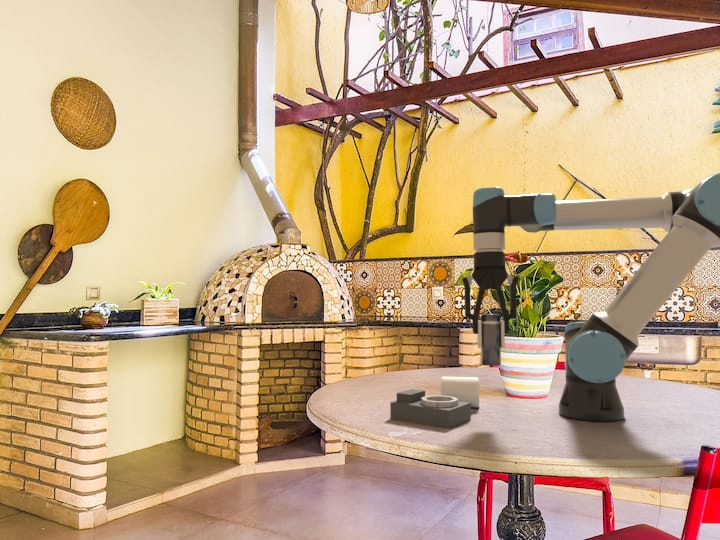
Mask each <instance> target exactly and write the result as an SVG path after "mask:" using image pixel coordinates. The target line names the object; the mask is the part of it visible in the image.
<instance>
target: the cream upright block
mask: <svg viewBox="0 0 720 540" xmlns="http://www.w3.org/2000/svg"><path fill="white" fill-rule="evenodd" d="M440 378H441V379H440V395H441V396H442V395H443V396H451V397H455V398H457V399H458V401H460V402H468V403H471V409H478V408H480V378H479V377H474V376H472V377H470V376H441V377H440Z"/></svg>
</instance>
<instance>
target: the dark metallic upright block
mask: <svg viewBox="0 0 720 540" xmlns="http://www.w3.org/2000/svg"><path fill="white" fill-rule="evenodd" d="M480 320H481V328H482V348H480V352H481V353H480V355H481V356H480V358H481V360H480V361H481V362H480V363H481V366H488V367H491V366H493V367H495V366H496V367H497V366H501V365H502V361H501V360H502V354H501V351H502V348H501V331H500V324H501V321H500V320H501V314H498V313H483V314H480Z"/></svg>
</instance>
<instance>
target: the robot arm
mask: <svg viewBox="0 0 720 540" xmlns="http://www.w3.org/2000/svg"><path fill="white" fill-rule="evenodd" d="M556 198H557V197H556V195H555V194H554V193H553V192H552V193H551V192H549V193H543V192H538V193H529V194H519V195H517V194H515V195H508V194H507V195H505V190H504V189H503V188H501V187H498V186H494V187H493V186H486V187H480V188H478V189H476V190H474V192H473V194H472V226H473V227H472V228H473V235H472V236H473V250H474V251H475V252H474V254H473V272H472V274H471V275H469V276H465V277H463V278H461V282H462V284H463V287H464V316H465V317H466V318H467V319H470V320H472V332H473V334H474V335H476V334H477V348H478V349H481V348H482V328H481V319H480V320H479V317H480V313H481V309H482V303H483V299H484V295H485V291H487V290H494V293H495V294H496V299H497V301H498V305H499V309H500V313H501V314H500V315H501V317H502V320H501V319H500V321H501V324H500V331H501V349H506V343H505V342H506V341H505V340H506V338H505V334H506V335H508V334H509V333H510V321H511V320H512V319H515V318H517V316H518V315H517V285H518V282H519V277H518V276H512V275H510V274H508V271H507V270H506V269H507V268H506V253H505V252H504V250H506V236H505V235H506V234H505V233H506V231H505V228H506V227H520V228H521V229H522V230H524V232H527V233H534V234H535V233H538V232H550V231H575V230H576V231H577V230H579V231H581V230H582V231H584V230H614V229H615V230H618V229H619V230H620V229H623V230H625V229H628V230H629V229H657V228H658V229H662V230H663V231H665V232H667V233H666V235H665V236H664V237H663V239H662V240H661V241H660V243H659V244H658V245H657V246H656V247H655V248H654V250H653V251H652V252H651V253H650V254H649V256H647V258H646V259H645V261H644V262H643V263H642V264H641V266H640V267H639V268H638V269H637V270H636V272H635V273H634V274H633V275H632V276H631V278H630V279H629V280H628V282H627V283H626V284H625V285H624V287H623V288H621V290H620V291H619V292H618V293H617V295H616V296H615V298H613V300H612V301H611V302H610V304H609V305H608V306H607V307H606V308H605V309H604V311H599V312H593V313H592V314H591V316H590V317H589V318H588V319H587V320H586V321H575V322H568V323H567V324H566V325H565V327H564V328H565V329H564V333H563V336H564V345H565V347H564V350H565V353H564V355H565V358H564V359H565V384H564V388H563V390H562V393H561V396H560V400H559V403H558V413H559V414H560V415H561V416H564V417H566V418H571V419H575V420H581V421H590V422H591V421H592V422H615V421H616V422H617V421H621V420H623V419H624V418H625V408H624V405H623V402H622V399H621V397H620V395H619V392H618V388H617V383H616V382H617V381H616V378H617V377H619V375H621V373H622V372H623V371H624V369H625V366H626V363H627V360H628V359H629V358H630V357H631V355H632V354H633V353H634V352H635V351H636V349H637V348H638V347H639V346H640V344H639V338H638V337H639V334H640V333H641V331H642V330H644V328H645V327H646V326H647V325H648V323H649V322H650V321H651V320H652V319H653V317H654V316H655V315H656V314H657V313H658V311H659V310H660V309H662V307H663V305H664V304H665V303H666V302H667V301H668V299H670V297H672V295H673V294H674V292H675V291H676V290H677V288H679V286H680V285H681V284H682V283H683V282H684V281H685V280H686V278H687V277H688V276H689V275H690V273H691V272H692V271H693V270H694V269H695V267H696V266H697V265H698V264H699V262H700V261H701V260H702V259H703V258H704V256H705V255H706V254H707V253H708V252H709V250H710V249H714V248H720V172H718V173H714V174H711V175H709V176H707V177H705V178H704V179H703V180H701V181H700V182H699V183H698V184H697V185H695V186H694V187H692V188H689V189H685V190H679V191H667V192H665V193H664V194H663V195H662V196H652V197H651V196H650V197H649V196H648V197H647V196H646V197H625V198H623V197H622V198H621V197H620V198H602V199H599V198H598V199H578V200H557V199H556ZM473 280H474V282H475V283H476V285H477V286H478V290H477V291H478V292H477V296H476V301H475V304H474V309H473V313H472V312H471V285H472V283H473ZM506 280H507V284H508V285H509V311H508V308H507V305H506V301H505V298H504V293H503V289H502V285H503V284H504V282H505V281H506ZM508 312H509V313H508Z"/></svg>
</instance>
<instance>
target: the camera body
mask: <svg viewBox="0 0 720 540" xmlns="http://www.w3.org/2000/svg"><path fill="white" fill-rule="evenodd" d="M389 404H390V420H395V421H396V420H397V421H401V422H408V423H415V424H420V425H426V426H431V427H432V426H433V427H439V428H444V429H451V428H454V427H457V426H458V425H461V424H463V423H466V422H468V421H470V420H472V417H471V416H472V413H471V412H472V408H471V403H468V402H460V401H458V399H457V398H455V397H451V396H443V395H442V396H441V394H440V395H437V394H436V395H426V390H422V389H413V388H410V389H408V390H403V391H399V392H396V400H394V401H390V403H389Z"/></svg>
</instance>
